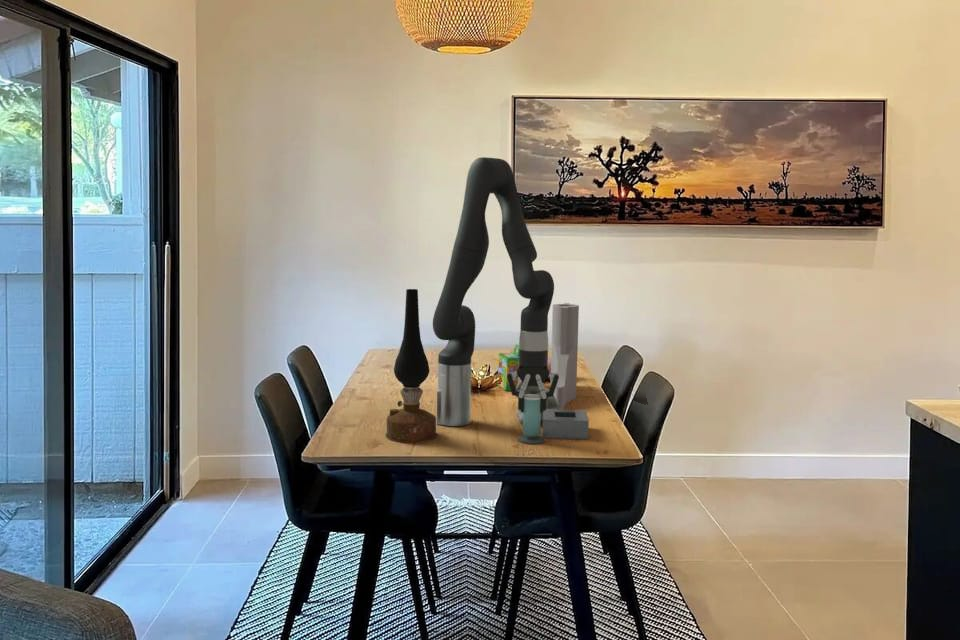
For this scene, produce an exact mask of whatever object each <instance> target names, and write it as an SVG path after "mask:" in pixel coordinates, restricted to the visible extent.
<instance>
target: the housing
mask: <svg viewBox="0 0 960 640" xmlns="http://www.w3.org/2000/svg"><path fill="white" fill-rule="evenodd" d="M589 422H590V420H589V416H588V412H587V409H565V408H564V409H546V410H545V411H543V421H542V423H541V424H542V429H541V431H542V437H544V438H545V439H569V440H570V439H571V440H576V439H577V440H589Z"/></svg>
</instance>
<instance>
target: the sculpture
mask: <svg viewBox="0 0 960 640" xmlns="http://www.w3.org/2000/svg"><path fill="white" fill-rule="evenodd" d="M521 385H522V381H521V379H520V378H518V384H517V390H518V391H520V388H521ZM544 388H545V391H546V392H548V391H549V389H550V388H546V387H544ZM527 394H536V395H540V396H541V393H540V390H539V387H536V386H527V387H526V390H525V392H524V395H527ZM524 395H523V397H524ZM541 397H542V396H541ZM546 409H559V407H558V405H557V402H556V399H555V397H554V395H553V396H552V397H548V398H547V399H546ZM516 417H517V418H518V421H519V424H521V425H523V412H521V410H519V409H518V408H517V412H516ZM542 421H543V413H541V422H542Z"/></svg>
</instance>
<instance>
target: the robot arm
mask: <svg viewBox="0 0 960 640" xmlns="http://www.w3.org/2000/svg"><path fill="white" fill-rule="evenodd" d="M515 179H516V178H515V176H514V172H513V169H512V167H511V164H509V162H508V161H506V160H505V159H501V158H496V157H484V156H483V157H482V156H481V157H478V158H476V159H475V160H473V162H471V164H470V166H469V169H468V172H467V178H466V183H465V190H464V197H463V205H462V209H461V214H460V220H459V223H458V229H457V232H456V236H455V240H454V243H453V248H452V252H451V257H450V262H449V265H448V269H447V274H446V277H445V280H444V285H443V288H442V291H441V293H440V297H439V298H438V299H439V300H438V301H437V304H436V308H435V309H434V314H433V318H432V330H433V332H434V334H435V337H436V338H438V339H439V340H441V341H447V344H446V346H445V347H444V348H443V349H441V351H439V352H438V356H437V359H438V361H437V363H438V364H437V365H438V366H437V367H438V368H437V390H436V425H441V426H448V427H460V426H461V427H462V426H468V425H469V424H470V423H471V401H472V400H471V396H472V395H471V394H472V393H471V390H472V389H471V386H472V385H471V384H472V377H471V376H472V356H473V354H474V352H475V343H476V342H475V340H476V339H475V338H476V318H475V315H474V312H473V310H472V309H471V308H470V307H469V306H466V305H463V302H464V299H465V296H466V294H467V292H468V290H469V289H470V288H471V286H472V285H473V284H474V282H475V281H476V279H477V278H478V277H479V275H480V273H481V272H482V270H483V268H484V265H485V263H486V259H487V256H488V250H489V246H490V238H489V232H488V227H487V223H486V211H487V204H488V203H489V202H488V201H489V198H490V194H493V195H494V196H495V198H496V200H497V202H498V204H499V208H500V211H501V236H502V241H503V244H504V246H505V249H506V252H507V254H508V256H509V257H508V258H510V262H511V271H512V276H513V283H514V288H515V290H516V291H517V294H519V295H520V297H521V298H524V299H527V300H529V303H528V305H527V306H526V307H524V308H523V309H521V312H520V332H519V338H518V340H519V341H518V345H519V367H518V369H517V371H516V372H512V373H511V372H508V373H507V378H508V382H509V386H510V389H511V391H510V392H511V396H515V397H517V410H518V409H519V410H521V412H523V409H524V397H523V395H524V392H525V390H526V387H527V386H536V387H539V390H540V393H541V396H542V397H541V413H543V411H545V410H546V399H547V398H548V397H552V396H553V395H554V392H555V388H556V385H557V382H558V379H559V375H558V374H557V373H555V374H554V373H551V372H549V370H548V358H549V333H548V331H549V330H548V328H549V327H548V326H549V325H548V322H549V311H550V309H551V305H552V302H553V296H554V292H555V281H554V278H553V276H552V274H551V273H550V272H548V270H543V269H539V270H534V269H535V268H534V266H533V263H534V261H535V260H537V257H538V253H537V249H536V247H535V244H534V242H533V239H532V236H531V234H530V232H529V229H528V227H527V224H526V221H525V217H524V213H523V210H522V206H521V201H520V197H519V193H518V189H517V184H516V181H515ZM517 375H518V377H519V378H520V379H521V381H522V385H521V388H520V391H517V390H516V388H515V384H514V380H515V379H516V376H517ZM548 376H549V377H550V379H549V380H550V387H549V388H548V389H549V391H548V392H546V391H545V388H546V387H545V384H544V382H545V381H546V380H547V379H546V378H547V377H548ZM551 381H552V383H551Z"/></svg>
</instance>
